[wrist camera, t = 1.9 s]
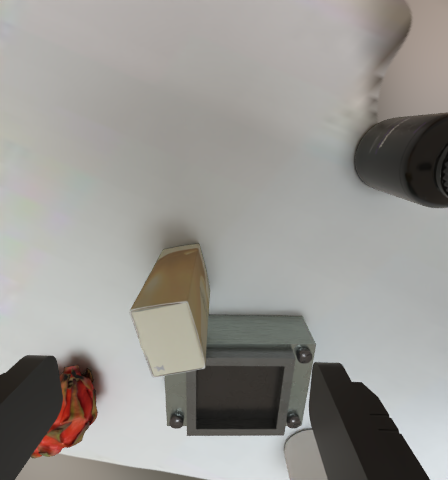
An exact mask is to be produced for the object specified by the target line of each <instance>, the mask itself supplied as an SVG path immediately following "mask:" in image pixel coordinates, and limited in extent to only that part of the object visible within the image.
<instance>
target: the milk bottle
mask: <svg viewBox="0 0 448 480" xmlns="http://www.w3.org/2000/svg"><path fill="white" fill-rule="evenodd" d="M284 454H285V459H286V464H287V469H288V473H289V478H290V480H328V479H327V476H326V472H325V469H324V466H323V463H322V459H321V456H320V453H319V449H318V446H317V443H316V440H315V436H314V433H313V430H305V431H301V432H299V433H296V434H295V435H293V436H292V437H291V438H290V439H289V440H288V441H287V443H286V445H285V450H284Z"/></svg>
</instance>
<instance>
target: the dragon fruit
mask: <svg viewBox="0 0 448 480" xmlns="http://www.w3.org/2000/svg"><path fill="white" fill-rule="evenodd" d="M60 382H61V388H62V393H63V403H62V408H61V411H60V413H59V416H58V417H57V419H56V421H55V422H54V424H53V425H52V426H51V428H50V429H49V431H48V432H47V434H46V435H45V437H44V438H43V439H42V441H41V442H40V444H39V445H38V447H37V448H36V450H35V451H34V452H33V454H32V455H31V457H32V458H37V457H40V456H42V455H44V456H47V457H50V456H54V455H56V454H58V453H59V452H60V451H61V450H62V448H64V447H67V448H68V447H71V446H73V445H76V444H77V443H79V442H81V441H82V438H83V435H84V433H85V431H86V430H87V429H88V428H89V426H90V425H91V424H92V423H93V422H94V421H95V419H96V417H97V413H98V411H97V407H96V393H95V389H94V387H93V384H92V382H93V378H92V375H91V371H90V370H89V369H88V368H87V371H86V373H85V374H81V372H80V368H79V366H78V365H76V366H70V367H64V372H63V374H61V375H60Z"/></svg>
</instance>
